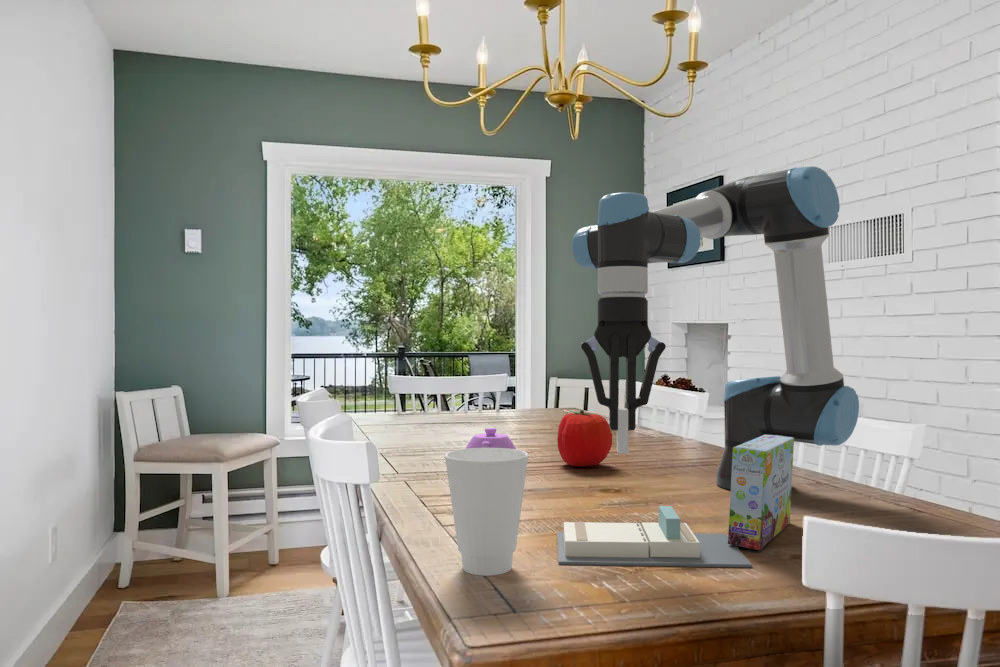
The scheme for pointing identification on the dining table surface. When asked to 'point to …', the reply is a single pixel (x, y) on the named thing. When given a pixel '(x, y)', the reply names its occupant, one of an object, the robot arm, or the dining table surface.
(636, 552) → the board
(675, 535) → the stub
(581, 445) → the tomato
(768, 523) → the snack box
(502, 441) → the teapot
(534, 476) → the dining table surface
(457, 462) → the cup
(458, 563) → the dining table surface
